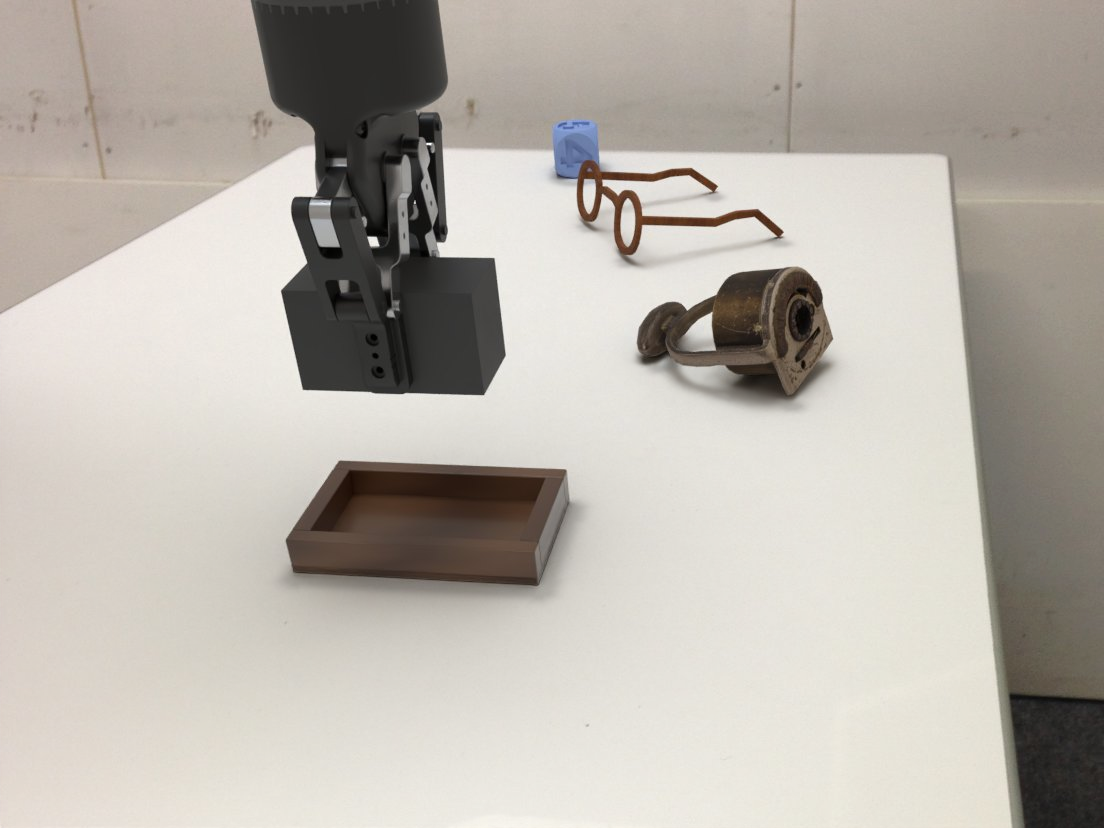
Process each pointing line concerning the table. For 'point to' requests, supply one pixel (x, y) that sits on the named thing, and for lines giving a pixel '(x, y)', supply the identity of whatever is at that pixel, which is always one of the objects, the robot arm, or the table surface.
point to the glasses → (639, 219)
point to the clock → (409, 329)
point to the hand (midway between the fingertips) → (406, 364)
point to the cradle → (431, 522)
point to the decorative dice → (574, 146)
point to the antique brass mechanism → (749, 326)
